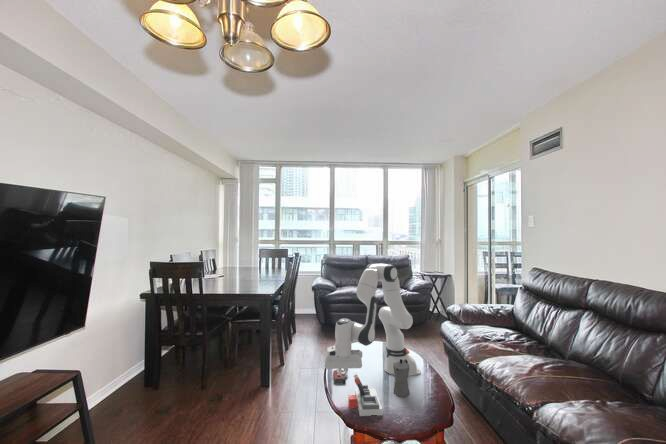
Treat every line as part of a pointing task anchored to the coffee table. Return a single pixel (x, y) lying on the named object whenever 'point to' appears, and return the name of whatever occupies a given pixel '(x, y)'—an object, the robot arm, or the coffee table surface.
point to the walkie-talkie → (339, 377)
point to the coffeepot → (401, 378)
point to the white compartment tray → (368, 402)
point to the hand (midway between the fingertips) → (343, 376)
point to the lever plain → (358, 379)
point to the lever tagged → (359, 386)
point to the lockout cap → (352, 401)
